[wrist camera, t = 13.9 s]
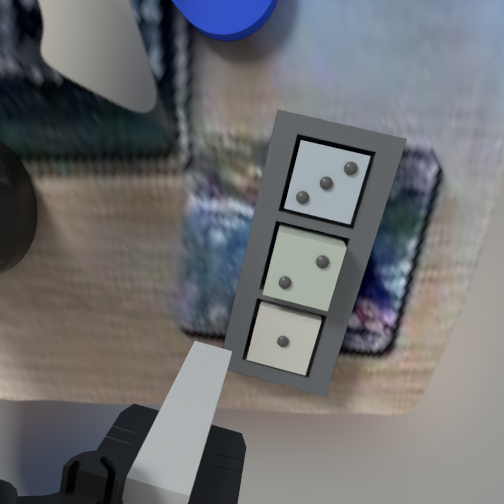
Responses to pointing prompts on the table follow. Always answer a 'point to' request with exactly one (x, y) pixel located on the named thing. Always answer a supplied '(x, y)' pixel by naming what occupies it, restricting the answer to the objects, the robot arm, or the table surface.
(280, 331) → the key one
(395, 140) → the keypad housing
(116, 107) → the table surface
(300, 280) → the key two
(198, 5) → the bracket
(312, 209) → the key three
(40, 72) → the table surface
